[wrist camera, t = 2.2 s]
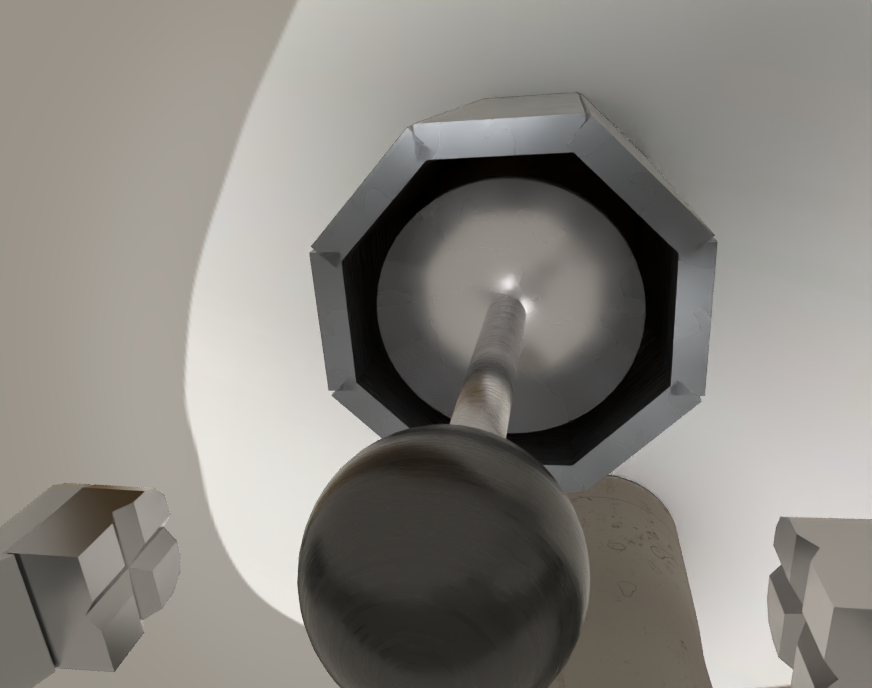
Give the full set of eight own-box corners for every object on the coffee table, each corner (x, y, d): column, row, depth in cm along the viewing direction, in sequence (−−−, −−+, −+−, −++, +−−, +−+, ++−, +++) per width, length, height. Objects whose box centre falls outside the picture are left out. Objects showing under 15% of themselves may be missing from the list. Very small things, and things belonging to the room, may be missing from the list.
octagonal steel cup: (652, 87, 27) (728, 104, 14) (639, 377, 31) (688, 589, 19) (414, 103, 29) (292, 131, 16) (435, 375, 33) (353, 567, 20)
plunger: (647, 167, 16) (825, 387, 5) (637, 421, 19) (739, 946, 8) (371, 180, 17) (26, 378, 6) (396, 416, 20) (178, 858, 9)
